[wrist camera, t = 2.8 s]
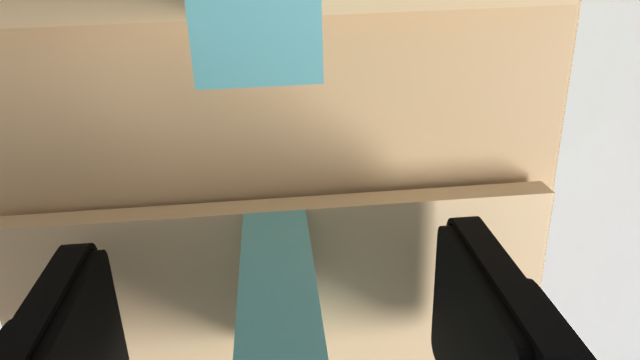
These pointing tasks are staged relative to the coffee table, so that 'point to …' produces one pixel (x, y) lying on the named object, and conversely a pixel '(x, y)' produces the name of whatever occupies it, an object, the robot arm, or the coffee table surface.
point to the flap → (278, 268)
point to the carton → (275, 98)
